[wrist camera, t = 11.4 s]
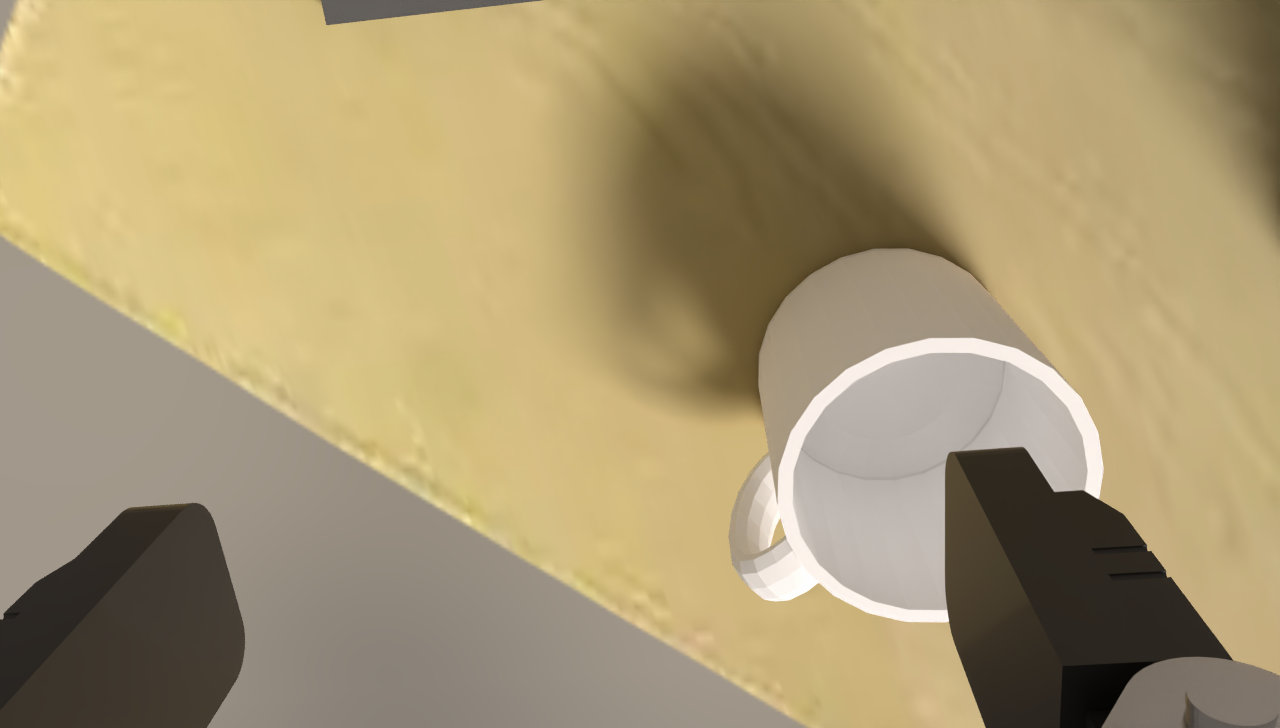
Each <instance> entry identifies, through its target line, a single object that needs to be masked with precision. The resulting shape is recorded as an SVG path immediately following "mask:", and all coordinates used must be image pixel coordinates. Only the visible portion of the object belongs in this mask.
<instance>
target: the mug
mask: <svg viewBox="0 0 1280 728" xmlns="http://www.w3.org/2000/svg"><path fill="white" fill-rule="evenodd" d="M758 386H759V393H760V399H761V406H762V412H763V418H764V425H765V431H766V437H767V443H768V450H769V452H768V453H767V454H766V455H764V456H763V457H762V459H761V460H760V461H759V462H758V463H757V464H756V466H755V467H754V468H753V469H752V470H751V472H750V473H749V474H748V476H747V478H746V480H745V482H744V483H743V485H742V487H741V489H740V490H739V492H738V495H737V498H736V501H735V504H734V507H733V510H732V513H731V521H730V529H729V544H730V551H731V558H732V565H733V567H734V568H735V570H736V571H737V573H738V575H739V576H740V578H741V579H742V580H743V581H744V582H745V583H746V584H747V585H748V586H749V587H750V588H751V589H752V590H753V591H754V592H755V593H757V594H758V595H759V596H760V597H761V598H763V599H765V600H770V601H787V600H791V599H793V598H795V597H797V596H799V595H801V594H803V593H805V592H807V591H808V590H809V589H811V588H812V587H813V586H815V585H816V584H817V583H820V584H821V585H822V586H823V587H825V588H826V589H827V590H828V591H829V592H830V593H831V594H832V595H833V596H835V597H837V598H839V599H841V600H843V601H845V602H847V603H849V604H851V605H853V606H855V607H857V608H859V609H861V610H863V611H865V612H867V613H870V614H875V615H879V616H883V617H887V618H891V619H896V620H900V621H904V622H949V618H948V611H947V604H946V593H945V467H946V460H947V456H948V454H949V453H950V452H953V451H968V450H982V449H996V448H1010V447H1024V448H1025V449H1026V450H1027V451H1028V453H1029V454H1030V456H1031V457H1032V459H1033V460H1034V462H1035V463H1036V465H1037V466H1038V468H1039V469H1040V471H1041V472H1042V474H1043V475H1044V477H1045V479H1046V480H1047V482H1048V483H1049V485H1050V486H1051V488H1052V489H1053V491H1054V492H1061V491H1076V490H1084V491H1085V492H1087V493H1089V494H1090V495H1092V496H1094V497H1095V498H1097V499H1099V496H1100V489H1101V483H1102V477H1103V470H1104V469H1103V462H1102V455H1101V448H1100V442H1099V435H1098V431H1097V429H1096V427H1095V425H1094V423H1093V421H1092V419H1091V417H1090V415H1089V413H1088V411H1087V409H1086V407H1085V405H1084V403H1083V401H1082V399H1081V397H1080V396H1079V395H1078V394H1077V392H1076V391H1075V390H1074V389H1073V388H1072V387H1071V386H1070V384H1069V383H1068V382H1067V381H1066V380H1065V379H1064V378H1063V376H1062V375H1061V374H1060V373H1059V372H1058V371H1057V370H1056V368H1055V367H1054V366H1053V365H1052V364H1051V363H1050V362H1049V360H1048V359H1047V358H1046V357H1045V356H1044V355H1043V354H1042V352H1041V351H1040V350H1039V349H1038V348H1037V347H1036V346H1035V344H1034V343H1033V342H1032V341H1031V340H1030V339H1029V338H1028V336H1027V335H1026V334H1025V333H1024V332H1023V331H1022V330H1021V328H1020V327H1019V326H1018V325H1017V324H1016V323H1015V322H1014V320H1013V319H1012V318H1011V317H1010V316H1009V315H1008V314H1007V312H1006V311H1005V310H1004V309H1003V308H1002V307H1001V306H1000V304H999V303H998V302H997V301H996V300H995V299H994V298H993V297H992V295H991V294H990V293H989V292H988V291H987V290H986V289H985V288H984V287H983V286H982V285H981V284H980V283H979V282H978V281H977V280H976V279H975V278H974V277H973V276H972V275H971V274H970V273H969V272H967V271H966V270H964V269H962V268H960V267H959V266H957V265H955V264H953V263H952V262H950V261H948V260H946V259H945V258H943V257H940V256H937V255H933V254H929V253H925V252H921V251H917V250H913V249H909V248H900V249H871V250H867V251H864V252H860V253H856V254H852V255H848V256H844V257H841V258H839V259H837V260H835V261H833V262H831V263H830V264H828V265H826V266H824V267H822V268H821V269H819V270H817V271H815V272H813V273H811V274H810V275H809V276H808V277H807V278H806V279H804V280H803V281H802V282H801V283H800V284H799V285H798V286H797V287H796V288H795V289H794V290H793V291H792V292H790V293H789V294H788V295H787V296H786V297H785V299H784V300H783V302H782V303H781V305H780V307H779V308H778V310H777V311H776V313H775V314H774V316H773V318H772V319H771V321H770V322H769V324H768V327H767V330H766V333H765V336H764V339H763V343H762V346H761V349H760V352H759V372H758ZM780 517H781V521H782V524H783V528H784V532H785V535H786V536H784V537H783V538H782V539H780V540H779V541H778V542H777V543H775V544H774V545H773V546H771V547H770V545H771V541H772V537H773V533H774V530H775V527H776V525H777V523H778V521H779V519H780Z"/></svg>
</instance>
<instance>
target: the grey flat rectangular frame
mask: <svg viewBox="0 0 1280 728" xmlns="http://www.w3.org/2000/svg"><path fill="white" fill-rule="evenodd" d="M321 1H322V6H323V11H324V16H325V21H326V25H331V24H340V23H349V22H357V21H366V20H375V19H383V18H392V17H401V16H410V15H418V14H427V13H436V12H444V11H453V10H462V9H470V8H479V7H488V6H497V5H505V4H514V3H523V2H531V1H540V0H321Z"/></svg>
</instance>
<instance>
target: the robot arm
mask: <svg viewBox="0 0 1280 728" xmlns="http://www.w3.org/2000/svg"><path fill="white" fill-rule="evenodd" d="M945 593H946V604H947V611H948V618H949V623H950V628H951V633H952V636H953V640H954V643H955V646H956V649H957V651H958V654H959V657H960V659H961V662H962V665H963V668H964V670H965V673H966V676H967V678H968V681H969V684H970V686H971V689H972V692H973V695H974V697H975V700H976V703H977V705H978V708H979V711H980V713H981V716H982V719H983V722H984V724H985V727H986V728H1280V676H1279V675H1277V674H1274V673H1272V672H1270V671H1267V670H1264V669H1261V668H1258V667H1256V666H1253V665H1249V664H1245V663H1241V662H1237V661H1233V659H1232V658H1231V657H1230V655H1229V654H1228V653H1227V651H1226V650H1225V649H1224V647H1223V646H1222V645H1221V643H1220V642H1219V641H1218V639H1217V638H1216V637H1215V635H1214V634H1213V633H1212V631H1211V630H1210V629H1209V627H1208V626H1207V625H1206V623H1205V622H1204V621H1203V619H1202V618H1201V617H1200V615H1199V614H1198V613H1197V611H1196V610H1195V609H1194V607H1193V606H1192V605H1191V603H1190V602H1189V601H1188V599H1187V598H1186V597H1185V595H1184V594H1183V593H1182V591H1181V590H1180V589H1179V587H1178V586H1177V585H1176V583H1175V582H1174V581H1173V579H1172V578H1171V577H1169V578H1167V576H1166V570H1165V569H1164V567H1163V566H1162V565H1161V563H1160V562H1159V561H1158V559H1157V558H1156V557H1155V555H1154V554H1153V553H1152V551H1147V545H1146V543H1145V542H1144V541H1143V539H1142V538H1141V537H1140V535H1139V534H1138V533H1137V531H1136V530H1135V529H1134V527H1133V526H1132V525H1131V523H1130V522H1129V521H1128V519H1127V518H1126V517H1125V516H1124V514H1122V513H1120V512H1119V511H1117V510H1115V509H1114V508H1112V507H1110V506H1109V505H1107V504H1105V503H1104V502H1102V501H1100V500H1099V499H1097V498H1095V497H1094V496H1092V495H1090V494H1089V493H1087V492H1085V491H1084V490H1076V491H1061V492H1054V491H1053V489H1052V488H1051V486H1050V485H1049V483H1048V482H1047V480H1046V479H1045V477H1044V475H1043V474H1042V472H1041V471H1040V469H1039V468H1038V466H1037V465H1036V463H1035V462H1034V460H1033V459H1032V457H1031V456H1030V454H1029V453H1028V451H1027V450H1026V449H1025V448H1024V447H1010V448H996V449H982V450H968V451H953V452H950V453H949V454H948V456H947V460H946V467H945ZM244 649H245V633H244V626H243V621H242V617H241V613H240V610H239V607H238V603H237V599H236V596H235V592H234V589H233V585H232V582H231V578H230V575H229V571H228V568H227V564H226V561H225V557H224V554H223V551H222V547H221V543H220V540H219V536H218V533H217V529H216V526H215V523H214V520H213V518H212V516H211V514H210V513H209V512H208V510H207V509H206V508H205V507H204V506H203V505H201V504H198V503H189V504H188V503H187V504H174V505H160V506H145V507H132V508H128V509H126V510H125V511H123V512H122V513H121V514H120V515H119V516H118V517H117V518H116V519H115V520H114V521H113V522H112V523H111V524H110V525H109V526H108V527H107V528H106V529H104V530H103V532H102V533H101V534H99V536H98V537H96V538H95V539H94V541H92V542H91V543H90V544H89V546H87V547H86V548H85V549H84V550H83V551H82V552H81V553H80V555H78V556H77V557H76V558H75V559H73V560H72V561H70V562H69V563H67V564H65V565H64V566H62V567H60V568H59V569H57V570H55V571H54V572H52V573H50V574H49V575H47V576H46V577H44V578H42V579H41V580H39V581H38V582H36V583H35V584H34V585H33V586H32V587H30V589H28V590H27V591H26V593H24V594H23V595H22V596H21V597H20V598H19V599H18V600H17V601H16V602H15V603H14V604H13V605H12V606H11V607H10V608H9V609H8V610H7V611H6V612H5V613H4V618H3V620H0V728H207V726H208V725H209V723H210V722H211V720H212V718H213V716H214V715H215V714H216V712H217V710H218V709H219V707H220V705H221V704H222V702H223V701H224V699H225V698H226V696H227V694H228V693H229V691H230V690H231V688H232V686H233V685H234V683H235V681H236V680H237V677H238V675H239V672H240V670H241V666H242V662H243V657H244Z"/></svg>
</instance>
